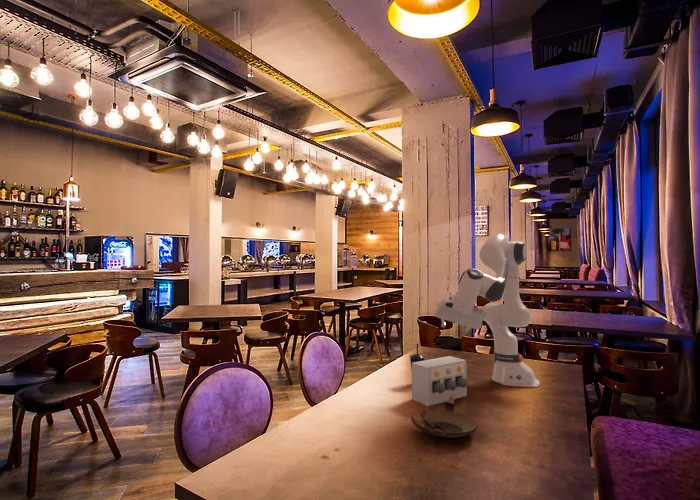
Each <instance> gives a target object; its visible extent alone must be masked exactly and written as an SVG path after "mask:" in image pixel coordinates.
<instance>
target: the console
mask: <svg viewBox="0 0 700 500" xmlns="http://www.w3.org/2000/svg"><path fill="white" fill-rule="evenodd" d="M458 377H461V378H465V379H466V380H468V379H467V359H462V358H458V357H454V356H451V355H447V356H443V357H437V358H432V359H426V360H424V361H419V362H413V363H412V371H411V400H412V399H413V401H414V402H418V403H419V402H420V404H422V405H424V406H426V407H430V405H431V406H434V405H438V404H443V403H445V402H447V401H448V400H449V398H450V396H453V397H454V400H456V398H457V399H459V398H463V397H464V398H465V397H467V395H468V393H467V390H468V389H467V388H468V385H467V386H466V387H465V388H462V387H459V386H457V385H456V388H455V390H453V391H452V390H449V389H446V388H445V390H444V392H443V393H438V392H435V391H434V390H433V385H434V383H435V382H439V383H442V384H444V386H445V381H446V380H448V379H449V380H452V381H455V382H456V379H457V378H458Z"/></svg>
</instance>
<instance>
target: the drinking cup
mask: <svg viewBox="0 0 700 500" xmlns="http://www.w3.org/2000/svg"><path fill="white" fill-rule="evenodd" d="M409 358H410V367H411V368H410V370H411V372H412V363H413V362H419V361H424V360H425V359H426V356H425V355H423V354H421V353H420V354H419V343H416V353H413V354H412V355H409Z"/></svg>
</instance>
